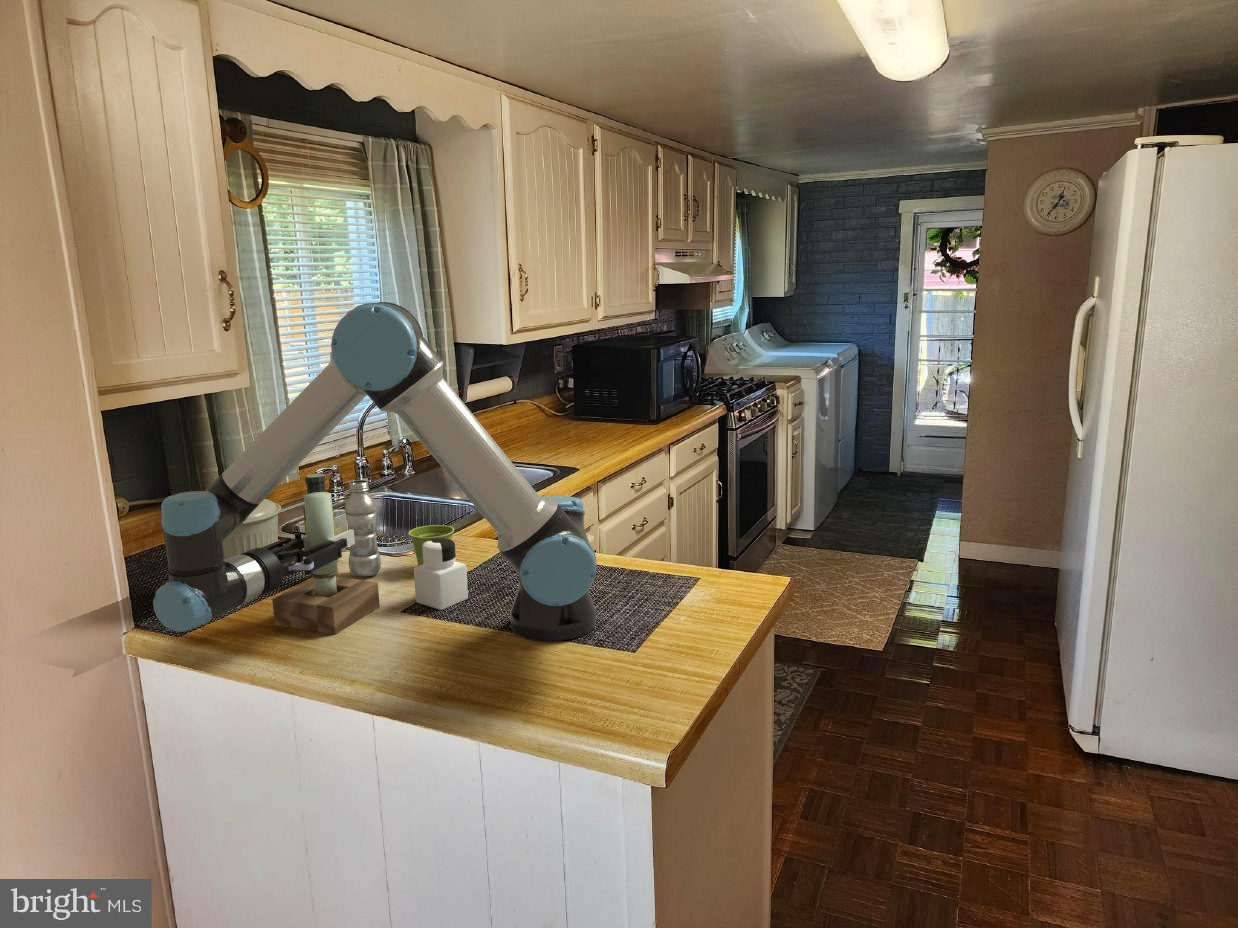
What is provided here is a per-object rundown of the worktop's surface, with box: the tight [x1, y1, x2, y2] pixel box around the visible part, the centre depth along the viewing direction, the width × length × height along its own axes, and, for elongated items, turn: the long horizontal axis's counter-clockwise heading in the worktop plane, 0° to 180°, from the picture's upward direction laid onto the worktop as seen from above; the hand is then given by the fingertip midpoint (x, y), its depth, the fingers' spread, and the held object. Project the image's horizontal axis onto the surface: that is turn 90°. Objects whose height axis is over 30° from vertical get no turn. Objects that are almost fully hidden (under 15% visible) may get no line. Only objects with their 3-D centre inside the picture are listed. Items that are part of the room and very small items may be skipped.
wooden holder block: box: [271, 576, 381, 635], centre depth 155 cm, size 13×13×5 cm
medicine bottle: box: [413, 538, 469, 611], centre depth 161 cm, size 7×7×12 cm
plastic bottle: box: [343, 479, 382, 578], centre depth 175 cm, size 6×7×20 cm
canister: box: [222, 498, 282, 560], centre depth 166 cm, size 18×18×21 cm
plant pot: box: [408, 524, 455, 566], centre depth 178 cm, size 9×9×9 cm
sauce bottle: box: [302, 473, 339, 563], centre depth 182 cm, size 6×6×20 cm
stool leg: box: [303, 491, 339, 598], centre depth 152 cm, size 5×5×20 cm
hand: (340, 535), depth 157 cm, fingers closed on stool leg, 4 cm apart
